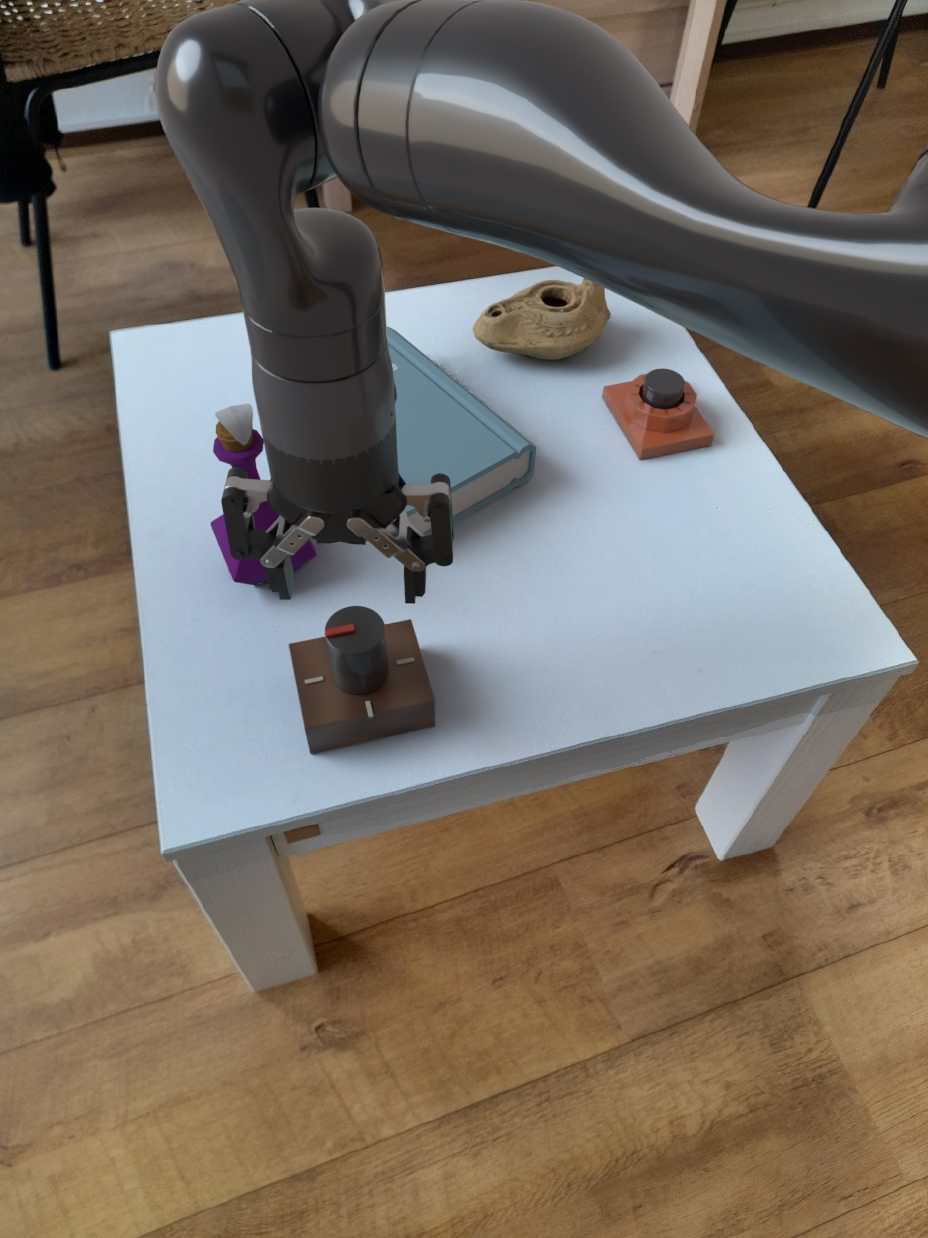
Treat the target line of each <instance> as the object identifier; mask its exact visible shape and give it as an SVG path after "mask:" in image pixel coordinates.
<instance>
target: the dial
mask: <svg viewBox="0 0 928 1238" xmlns="http://www.w3.org/2000/svg"><path fill="white" fill-rule="evenodd" d="M385 624H386V623H385V621H384V620H383V618H382V616H381V615H380V614H379V613H378V612H377V611H375V610H374V609H372V608H370V607H368V606H363V605H350V606H346V607H343V608H341V609H338V610H337V611H335V612H334V613H333V614H332V615H331V616H330V617H329V618H328V619H327V621H326V624H325V626H324V637H325V639H326V644H327V650H328V656H329V662H330V667H331V673H332V678H333V680H334V682H335V684H336V685H337V686H338V687H339V688H340V689H342V690H343V691H345V692H347V693H351V694H366V693H370V692H372V691H374V690H376V689H378V688H379V687H380V686H381V685H382V684H383V683H384V681H385V680H386V678H387V675H388V657H387V645H386V633H385Z"/></svg>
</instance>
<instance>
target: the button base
mask: <svg viewBox="0 0 928 1238" xmlns="http://www.w3.org/2000/svg"><path fill="white" fill-rule="evenodd" d="M648 373H649V372H647V373H641V374H639V375H637V377H635V378H634V379H632V380H630V381H625V382H620V383H619V382H618V383H613V384H609V385H604V386H603V389H602V395H601V398H602V400H603V401H604V403H605V405H606V407H607V409H608V410H609V412H610V414H611V416H613V419H614V420H615V421H616V424H617V425H618V426H619V428H620V430H621V432H622V433H623V435H624V437H625V438H626V440H627V442H628V444H629V445H630V447H631V448H632V450H633V452H634V453H635V455H636V456H637V458H638V460H639V461H643V460H647V459H652V458H658V457H662V456H667V455H671V454H675V453H680V452H681V453H682V452H685V451H690V450H695V449H701V448H705V447H709V446H710V447H711V446H712V445H713V443H714V439H715V435H716V434H715V432H714V431H713V429H712V428H711V426H710V425H709V424H708V422H707V420H706V419H705V417H704V416H703V415H702V413H701V412H700V410H699V408H698V407H697V397H698V395H697V392H696V391H695V390H694V388H693V386H692V385H691V384H690V382H689V381H687V380H685V379H684V381H685V387H684V391H683V395H682V399H681V402H680V404H679V405H678V406H677V407H675V408H672V409H667V410H664V409H658V408H653V407H652V406H650V405H648V404H646V403H645V402H644V401H643V399H642V389H643V385H644V380H645V377H646V375H647V374H648Z"/></svg>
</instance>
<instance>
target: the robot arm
mask: <svg viewBox="0 0 928 1238" xmlns="http://www.w3.org/2000/svg"><path fill="white" fill-rule="evenodd" d="M154 84H155V91H154V93H155V94H154V95H155V101H156V102H155V103H156V108H157V113H158V118H159V122H160V124H161V127H162V130H163V133H164V135H165V137H166V139H167V142H168V143H169V145H170V148H171V150H172V152H173V154H174V156H175V158H176V159H177V161H178V163H179V165H180V167H181V169H182V171H183V173H184V174H185V176H186V178H187V180H188V182H189V183H190V185H191V187H192V189H193V190H194V192H195V194H196V196H197V199H198V200H199V201H200V203H201V205H202V207H203V209H204V211H205V213H206V215H207V218H208V219H209V221H210V224H211V226H212V228H213V230H214V232H215V234H216V237H217V240H218V242H219V243H220V245H221V248H222V250H223V252H224V255H225V257H226V259H227V262H228V263H229V266H230V269H231V270H232V273H233V276H234V277H235V281H236V284H237V287H238V291H239V299H240V303H241V309H242V313H243V318H244V323H245V329H246V334H247V335H246V336H247V338H248V345H249V348H250V351H249V352H250V356H251V357H250V358H251V383H252V384H251V385H252V390H253V395H254V400H255V405H256V411H257V415H258V416H257V417H258V420H259V425H260V431H261V437H262V438H263V441H264V444H263V447H264V450H265V451H264V452H265V456H266V460H267V465H268V470H269V476H270V479H261V480H257V479H248V474H247V472H246V471H245V470H243V469H241V468H237V467H235V468H232V467H231V468H230V469H229V470H228V471H227V476H226V479H225V484H224V488H223V491H222V496H221V499H220V500H221V501H220V503H221V508H222V513H223V514H224V520H225V525H226V531H227V537H228V542H229V548H230V553H231V556H232V557H233V558H234V559H236V560H239V561H245V560H247V559H249V557H252V558H255V559H258V560H260V562H261V564H262V565H263V566H264V569H265V573H266V578H267V582H266V583H267V586H268V589H269V590H270V591H271V593H275V594H278V597H279V600H280V601H292V596H293V591H294V585H295V572H293V567H292V562H291V557H290V555H294V554H295V553H296V552H297V551H298V550H299V549H300V548H301V547H302V546H303V545H304V544H305V543H306V542H307V541H308V540H309V539H310V540H313V541H315V543H316V544H318V545H331V544H337V543H342V544H343V543H344V544H348V545H353V546H354V545H355V546H359V545H360V546H366V543H369V544H370V545H372V546H373V547H374V548H375V549H376V550H377V551H379V552H380V553H381V554H382V555H383V556H384V557H386V558H388V559H391V558H393V557H394V558H395V559H396V560H397V561H398V562H399V563H401V564H402V565H403V586H404V604H411V605H412V604H413V605H415V604H416V601H417V598H423V597H424V595H425V594H426V590H427V588H426V587H427V567H429V565H431V564H435V565H437V566H439V567H449V566H451V565H452V564H453V563H454V538H455V529H454V528H455V527H454V524H453V512H452V498H451V483H450V478H449V477H448V476H447V475H445V474H441V473H439V474H435V475H433V476H432V478H431V484H406V482H405V481H404V480H403V478H402V477H401V476H400V474H399V471H398V453H397V432H396V411H395V403H396V400H397V392H396V386H395V382H394V374H393V367H392V361H391V357H390V353H389V348H388V341H387V326H388V325H387V307H386V306H387V305H386V290H385V289H386V288H385V275H384V263H383V258H382V257H383V256H382V253H381V249H380V246H379V244H378V243H379V242H378V241H377V238H376V236H375V234H374V232H373V231H372V230H371V229H370V228H369V227H368V226H367V224H365V223H364V222H363V221H362V220H360V219H359V218H357V217H356V216H353V215H352V214H350V213H347V212H344V211H341V210H337V209H333V208H327V207H299V208H298V207H297V208H296V207H295V208H294V206H295V205H294V204H295V197H296V196H299V195H301V194H303V193H305V192H308V191H310V190H312V189H315V188H318V187H320V186H322V185H324V184H327V183H329V182H331V181H334V180H336V179H338V180H339V181H340V182H341V183H342V186H344V187H345V188H346V189H347V190H348V191H349V193H350V194H352V195H353V196H354V197H355V198H356V199H358V200H359V201H360V202H362V203H363V204H365V205H366V206H368V207H370V208H371V209H374V210H376V211H378V212H380V213H381V214H382V213H383V214H385V215H387V216H389V217H392V218H395V219H399V220H402V221H405V222H409V223H413V224H416V225H419V226H423V227H426V228H431V229H433V230H438V231H441V232H445V233H449V234H453V235H456V236H461V237H465V238H467V239H468V238H469V239H471V240H472V239H473V240H477V241H480V242H484V243H488V244H490V245H491V244H492V245H495V246H499V247H502V248H505V249H508V250H512V251H514V252H518V253H520V254H523V255H527V256H530V257H533V258H536V259H537V260H540V261H543V262H546V263H548V264H550V265H553V266H555V267H557V268H561V269H563V270H566V271H567V272H569V273H572V274H574V275H575V276H576V275H577V276H578V277H581V278H582V279H584V278H585V279H587V280H589V281H591V282H594V283H596V284H598V285H600V286H602V287H604V288H605V290H608V291H610V292H612V293H614V294H616V295H618V296H619V297H622V298H624V299H627V300H629V301H630V302H633V303H635V304H637V305H639V306H641V307H643V308H644V309H647V310H649V311H651V312H653V313H655V314H656V315H658V316H661V317H662V318H665V319H667V320H669V321H671V322H673V323H674V324H677V325H679V326H681V327H683V328H685V329H687V330H688V331H689V330H690V331H691V332H693V333H695V334H697V335H699V336H702V337H704V338H706V339H708V340H710V341H712V342H714V343H717V344H718V345H720V346H722V347H724V348H727V349H728V350H731V351H732V352H735V353H737V354H739V355H741V356H744V357H746V358H748V359H750V360H752V361H754V362H757V363H759V364H762V365H764V366H765V367H768V368H770V369H771V370H772V369H773V370H774V371H776V372H779V373H782V374H784V375H786V376H787V377H790V378H792V379H795V380H797V381H799V382H801V383H804V384H805V385H807V386H809V387H812V388H814V389H816V390H818V391H821V392H822V393H824V394H827V395H829V396H831V397H833V398H836V399H837V400H840V401H842V402H844V403H846V404H849V405H851V406H853V407H855V408H858V409H859V410H861V411H863V412H866V413H868V414H870V415H873V416H875V417H877V418H878V419H879V418H880V419H882V420H883V421H886V422H888V423H890V424H893V425H895V426H897V427H899V428H901V429H903V430H905V431H908V432H909V433H911V434H914V435H916V436H919V437H921V438H923V439H926V440H928V142H926V144H925V146H924V148H923V150H922V151H921V153H920V154H919V157H918V159H916V163H915V164H914V165H913V167H912V169H911V170H910V171H909V174H908V175H907V177H906V178H905V180H904V182H903V183H902V185H901V186H900V189H899V190H898V192H897V193H896V196H895V197H894V198H893V201H892V202H891V204H890V205H889V207H888V208H887V210H886V211H884V212H846V211H845V212H844V211H837V210H827V209H820V208H815V207H809V206H804V205H799V204H794V203H788V202H786V201H782V200H779V199H776V198H774V197H772V196H768V195H766V194H764V193H761V192H760V191H758V190H756V189H754V188H753V187H751V186H749V185H747V184H746V183H744V182H742V180H740V179H739V178H738V177H736V176H735V175H734V174H732V173H731V172H730V171H729V170H728V168H726V167H725V166H724V165H723V164H722V162H721V161H719V159H718V158H717V157H716V156H714V154H713V153H712V152H711V151H710V150H709V149H708V148H707V147H706V146H705V144H704V143H703V141H702V140H701V139H700V138H699V136H697V134H696V133H695V132H694V130H693V129H692V127H690V125H689V124H688V122H687V121H686V120H685V119H684V118H683V116H682V115H681V114H680V112H679V110H677V108H676V107H675V105H674V103H672V101H671V100H670V99H669V96H668V95H666V93H665V91H664V90H663V89H662V88H661V86H660V85H659V83H658V82H657V80H656V79H655V78H654V77H653V76H652V74H651V73H650V72H649V71H648V70H647V69H646V67H645V66H644V65H643V64H642V63H641V61H640V60H639V59H638V58H637V56H636V55H634V53H633V52H631V50H629V49H628V48H627V47H626V45H624V44H623V43H622V42H621V41H619V40H618V39H617V38H616V37H614V36H613V35H612V34H610V33H609V32H608V31H607V30H605V29H604V28H602V27H601V26H600V25H598V24H596V23H595V22H593V21H591V20H589V19H587V18H585V17H583V16H581V15H578V14H576V13H573V12H572V11H569V10H566V9H563V8H561V7H557V6H553V5H550V4H547V3H542V2H534V1H530V0H529V1H527V0H239V1H235V2H232V3H231V4H227V5H222V6H218V7H215V8H212V9H208V10H206V11H202V12H198V13H196V14H193V15H191V16H189V17H188V18H186V19H184V20H182V21H181V22H179V23H178V24H177V25H175V26H174V28H172V30H170V32H169V33H168V35H167V36H166V38H165V40H164V43H163V45H162V46H161V49H160V53H159V56H158V59H157V65H156V72H155V83H154ZM265 501H267V502H268V504H269V506H270V507H271V508H272V509H273V510H274V511H275V512H277V513H278V514H279V515H280V516H279V518H278V519H277V520H276V521H275V522H274V523H273V524H272V525H271V527H270V528H269V529H268V530H267V531H266V532H264V531H261V530H257V529H255V522H254V515H253V513H254V512H256V511H257V510H258V508H259V504H260V503H262V502H265ZM406 505H410V506H413V507H415V508H416V509H417V510H418V513H419V515H421V516H422V517H423V521H424V522H430V521H431V531H432V534H431V535H427V536H426V535H425V534H423V533H422V532H421V531H420V530H419V529H418V528H417V527H416V526H415V525H413V524H412V523H411V522H410V521H409V518H408V515H407V513H406V512H405V510H404V509H405V508H406ZM223 514H222V515H223ZM385 529H386V530H385Z"/></svg>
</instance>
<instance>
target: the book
mask: <svg viewBox="0 0 928 1238" xmlns="http://www.w3.org/2000/svg"><path fill="white" fill-rule="evenodd" d="M387 341H388V348H389V353H390V357H391V361H392V367H393V374H394V382H395V386H396V392H397V400H396V403H395V411H396V432H397V453H398V471H399V474H400V476H401V477H402V478H403V480H404V481H405V482H406V484H431V478H432V476H433V475H435V474H439V473H441V474H445V475H447V476H448V477H449V478H450V483H451V498H452V512H453V525H455V524H456V523H458V522H460V521H462V520H464V519H465V518H467V517H469V516H470V515H472V514H474V513H475V512H477V511H479V510H481V509H482V508H484V507H486V506H488V505H489V504H491V503H493V502H495V501H496V500H498V499H500V498H502V497H504V496H505V495H507V494H508V493H511V492H512V491H513V490H514V489H515V487H521V486H522V485H525V484H526V483H527V482H528V480H529V479H530V478H531V477H532V475H533V474H534V473H535V466H536V455H537V448H538V446H536V444H534V443H533V442H531V441H530V440H529V439H528V438H526V437H525V436H524V435H523V434H522V433H521V432H519V431H518V430H517V429H516V428H515V427H513V426H512V425H511V424H510V423H508V422H507V421H506V420H505V419H504V418H502V417H501V416H500V415H499V414H498V413H496V412H495V411H494V410H492V408H490V407H489V406H488V405H487V404H486V403H484V402H483V401H482V400H480V399H479V397H477V396H476V395H475V394H473V393H472V392H471V391H470V390H469V389H467V388H466V387H465V386H464V385H462V384H461V383H460V382H459V381H457V380H456V379H455V378H454V377H453V376H451V375H450V374H449V373H448V372H447V371H446V370H444V369H443V368H442V367H440V366H439V365H438V364H437V363H436V362H435V361H433V360H432V359H431V358H430V357H428V356H427V355H426V354H425V353H424V352H423V351H421V350H420V349H418V347H416V346H415V345H414V344H412V342H410V341H409V340H408V339H406V338H405V337H404V336H403V335H402V334H400V333H399V332H398V331H397V330H396V329H394V328H392V327H389V326H388V325H387ZM404 510H405V512H406V513H407V515H408V518H409V521H410V522H411V523H412V524H413V525H415V526H416V527H417V528H418V529H419V530H420V531H421V532H422V533H423V534H425V535H426V536H427V535H431V534H432V531H431V521H430V522H424V521H423V517H422V516H421V515H419V513H418V510H417V509H416V508H415V507H413V506H410V505H406V508H405V509H404ZM385 530H386V529H385Z"/></svg>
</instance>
